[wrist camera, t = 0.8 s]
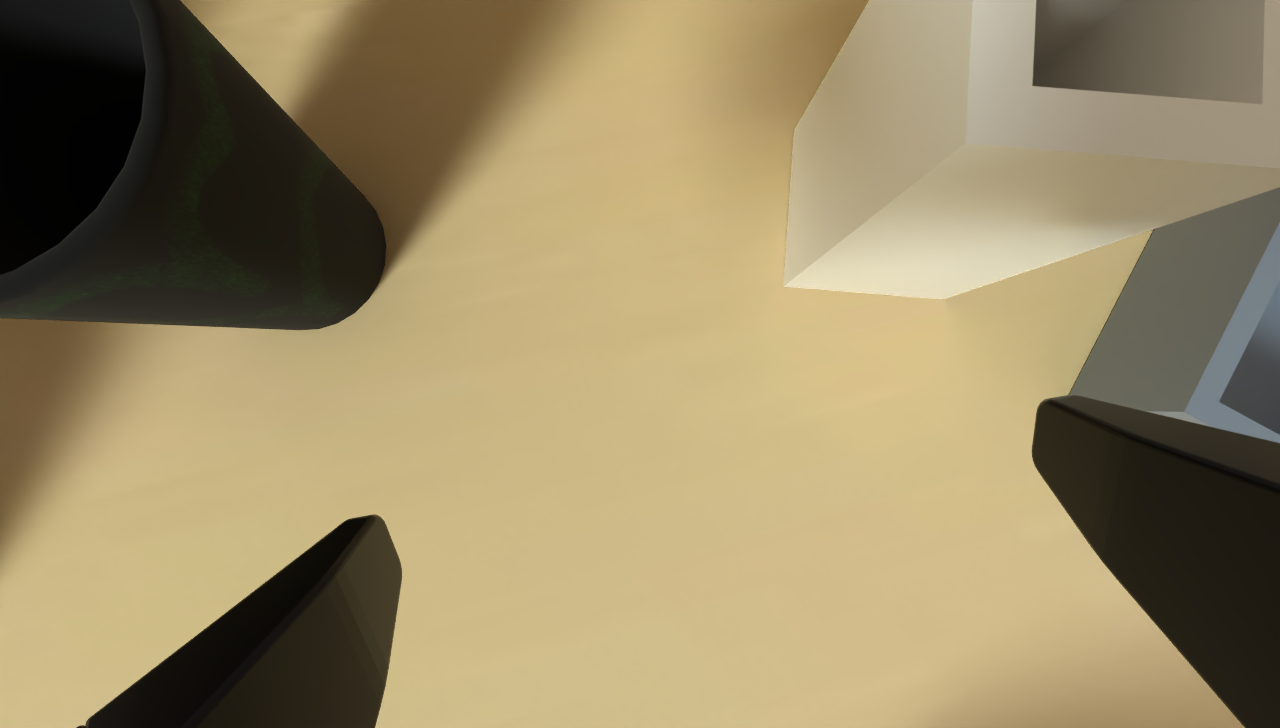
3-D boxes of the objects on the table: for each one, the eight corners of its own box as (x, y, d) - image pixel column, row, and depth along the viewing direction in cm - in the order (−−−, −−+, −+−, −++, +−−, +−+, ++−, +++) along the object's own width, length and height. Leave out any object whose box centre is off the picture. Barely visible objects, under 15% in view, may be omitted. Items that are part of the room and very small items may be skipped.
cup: (407, 366, 22) (139, 326, 10) (186, 354, 22) (-338, 300, 10) (423, 149, 23) (184, -132, 11) (207, 138, 23) (-273, -157, 11)
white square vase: (942, 299, 22) (1324, 172, 10) (783, 286, 22) (965, 143, 10) (951, 143, 23) (1330, -169, 10) (793, 130, 23) (983, -198, 10)
